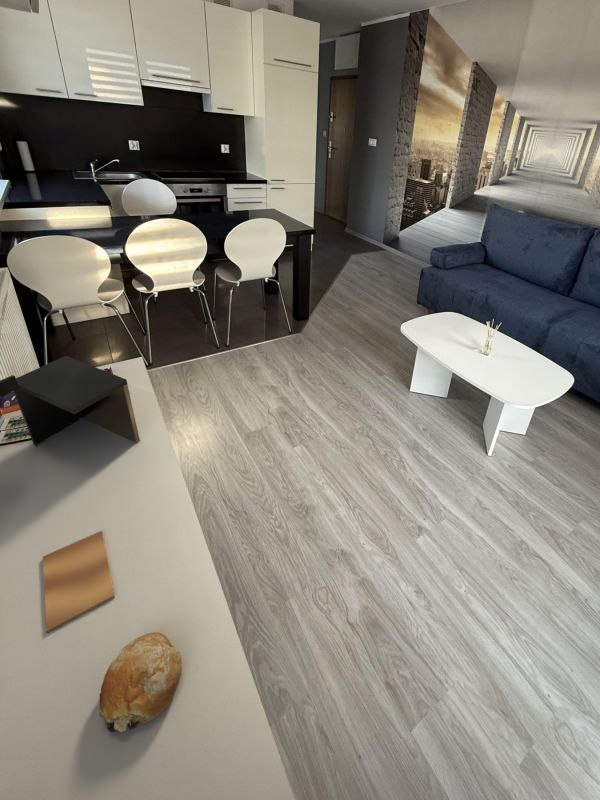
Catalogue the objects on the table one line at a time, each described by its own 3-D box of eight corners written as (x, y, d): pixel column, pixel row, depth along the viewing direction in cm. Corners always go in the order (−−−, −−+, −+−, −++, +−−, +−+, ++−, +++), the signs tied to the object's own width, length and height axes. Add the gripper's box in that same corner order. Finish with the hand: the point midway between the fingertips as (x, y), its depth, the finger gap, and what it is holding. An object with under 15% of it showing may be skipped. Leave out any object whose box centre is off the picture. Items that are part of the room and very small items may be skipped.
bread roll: (189, 697, 58) (204, 647, 57) (121, 763, 48) (138, 705, 48) (147, 653, 62) (160, 607, 61) (77, 706, 53) (92, 652, 52)
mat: (43, 558, 70) (42, 556, 70) (102, 532, 75) (101, 530, 75) (47, 633, 60) (46, 631, 60) (114, 597, 66) (114, 595, 65)
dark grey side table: (93, 475, 87) (73, 409, 78) (33, 444, 93) (9, 381, 85) (140, 440, 97) (126, 379, 89) (83, 415, 103) (65, 355, 95)
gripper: (-199, 457, 60) (-17, 379, 80) (-136, 503, 54) (43, 407, 74) (-227, 419, 57) (-31, 347, 76) (-164, 464, 51) (31, 374, 70)
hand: (5, 377), depth 75 cm, fingers closed on soda can, 5 cm apart
